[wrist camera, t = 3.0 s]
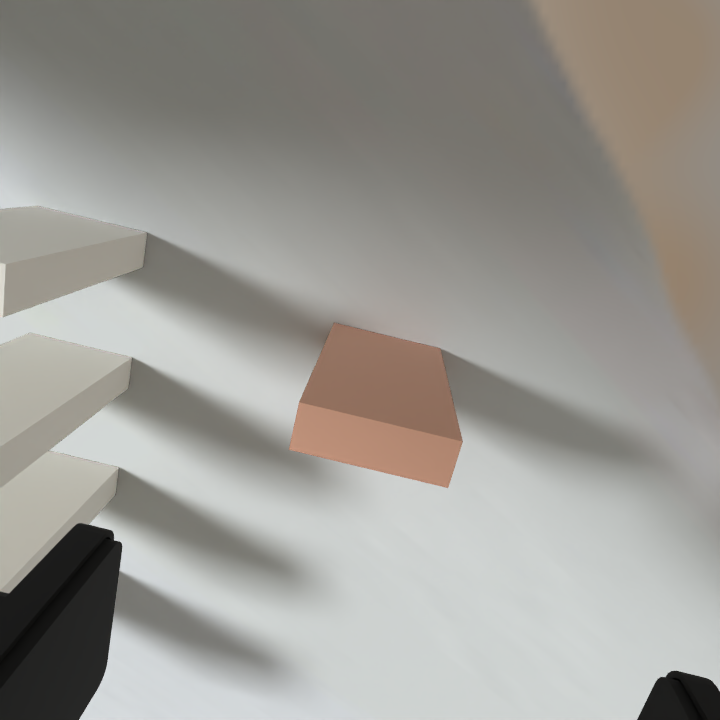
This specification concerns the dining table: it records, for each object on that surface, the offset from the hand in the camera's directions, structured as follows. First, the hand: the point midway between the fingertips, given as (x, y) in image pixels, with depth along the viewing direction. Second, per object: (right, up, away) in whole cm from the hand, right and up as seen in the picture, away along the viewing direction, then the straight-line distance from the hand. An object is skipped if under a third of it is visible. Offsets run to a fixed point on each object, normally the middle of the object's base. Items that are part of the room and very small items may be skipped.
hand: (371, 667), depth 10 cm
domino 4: (+1, +6, +17) cm, 18 cm away
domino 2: (-14, +5, +18) cm, 24 cm away
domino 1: (-12, +11, +17) cm, 23 cm away
